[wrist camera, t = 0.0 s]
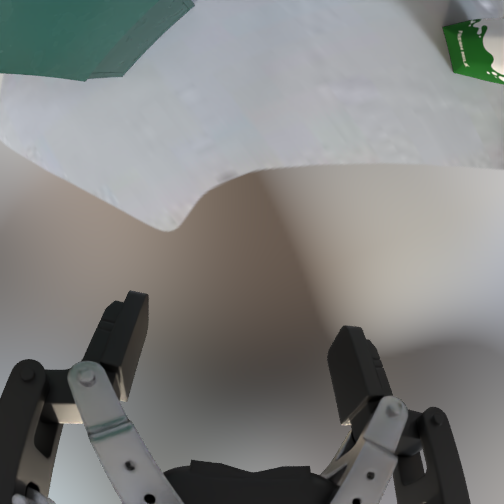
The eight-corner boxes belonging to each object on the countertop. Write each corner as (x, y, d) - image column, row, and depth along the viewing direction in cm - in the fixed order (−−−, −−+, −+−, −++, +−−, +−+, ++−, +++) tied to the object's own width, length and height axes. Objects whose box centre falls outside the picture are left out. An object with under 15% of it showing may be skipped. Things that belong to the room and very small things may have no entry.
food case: (55, 17, 25) (12, 12, 16) (118, -51, 20) (86, -75, 12) (122, 76, 31) (85, 79, 23) (195, 5, 27) (177, -17, 18)
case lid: (-65, 68, 7) (-63, 74, 7) (63, -111, 3) (67, -111, 3) (81, 77, 22) (85, 82, 22) (174, -20, 18) (179, -17, 18)
